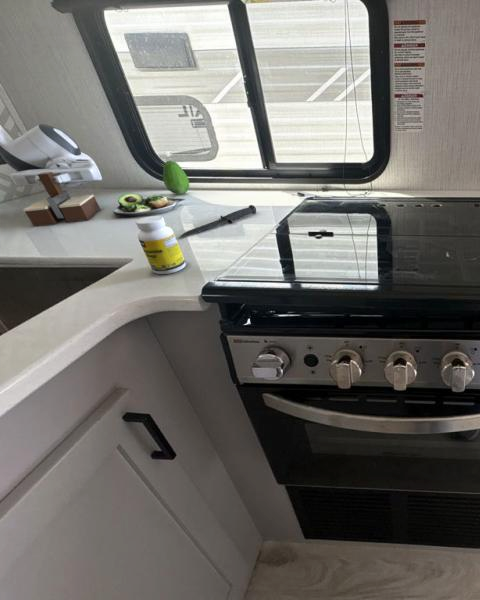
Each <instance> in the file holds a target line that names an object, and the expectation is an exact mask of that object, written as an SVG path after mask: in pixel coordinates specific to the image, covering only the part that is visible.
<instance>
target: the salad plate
mask: <svg viewBox="0 0 480 600" xmlns="http://www.w3.org/2000/svg"><path fill="white" fill-rule="evenodd" d="M183 201H186V198H179V197H178V198H177V197H176V198H175V197H171V196H167V195H165V196H163V194H161V195H158V194H153V195H150V196H148V197H146V198H145V197H143V196H142V195H140V194H137V193H133V192H132V193H131V192H130V193H125V194H122V195H121V196H119V198H118V199H117V202H118V206H117V207H116V208H115V209H114V210H113V214H114V215H115V216H118V217H119V218H123V219H125V218H136V217H137V218H138V217H147V216H150V215H151V216H153V215H157V214H163V213H164V214H165V213H167V212H170V211H173V210H174V209H175V208H176V205H177V204H179V203H180V202H183Z"/></svg>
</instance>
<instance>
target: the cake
mask: <svg viewBox="0 0 480 600" xmlns="http://www.w3.org/2000/svg"><path fill="white" fill-rule="evenodd" d="M59 208H60V209H61V211H62V213H63V215H64V216H65V218H59V219H58V218H57V216H56V215H55V213H54V211H53V210H52V208H51V206H50V204H49V203H48V201H47V199H46V198H42V199H40V200H38V201H36V202H34V203H33V204H31V205H29V206H27V207H25V208H24V209H23V208H22V209H23V211H24V213H25V215H26V216H27V218H28V219H29V221H30V223H31V224H32V226H33V227H41V226H49V225H56V224H58V223H59V222H60V221H61V220H63V219H65V220H66V221H67V223H75V222H83V221H84V222H85V221H89V220H90V219H91V218H92V217H94V216H95V215H96V214H97V213H99V212H100V211H101V207H100V205H99V203H98V200H96V197H95V195H94V194H93V193H92V194H82V195H73V196H72V197H70V199H69V200H67V201H66V202H64V203H63V204H61V205H59Z"/></svg>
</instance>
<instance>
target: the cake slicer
mask: <svg viewBox="0 0 480 600" xmlns="http://www.w3.org/2000/svg"><path fill="white" fill-rule="evenodd" d="M53 176H54V174H53V173H52V172H45V173H40V174H38V177H39V178H40V180H41V182H42V184H43V185H42V186H43V188H44V189H45V190H46V193H47V194H48V197H46V198H45V199H47V201H48V203H49V204H50V206H51V208H52V210H53V211H54V213H55V215H56V216H57V218H58V219H59V218H63V219H66V218H65V216H64V215H63V213H62V211H61V209H60V208H59V205H61V204H63V203H64V202H66V201H67V200H69V199H70V198H71V196H70V193H69V192H68V190H67V189H62V186H61V185H59V183H54V182H53V180H52V178H51V177H53Z"/></svg>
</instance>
